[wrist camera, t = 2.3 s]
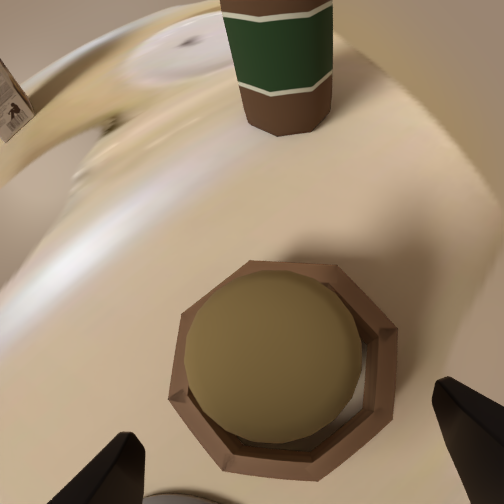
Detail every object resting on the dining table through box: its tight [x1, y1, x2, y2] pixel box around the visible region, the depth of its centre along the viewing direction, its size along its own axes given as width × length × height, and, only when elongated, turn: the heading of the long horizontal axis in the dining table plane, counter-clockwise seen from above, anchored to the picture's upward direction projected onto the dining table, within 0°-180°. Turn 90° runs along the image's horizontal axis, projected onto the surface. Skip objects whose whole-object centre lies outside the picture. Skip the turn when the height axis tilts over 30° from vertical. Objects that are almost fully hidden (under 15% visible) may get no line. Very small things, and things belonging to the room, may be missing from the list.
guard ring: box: [168, 260, 398, 482], centre depth 16 cm, size 11×11×3 cm
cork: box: [184, 270, 362, 443], centre depth 13 cm, size 6×6×11 cm
